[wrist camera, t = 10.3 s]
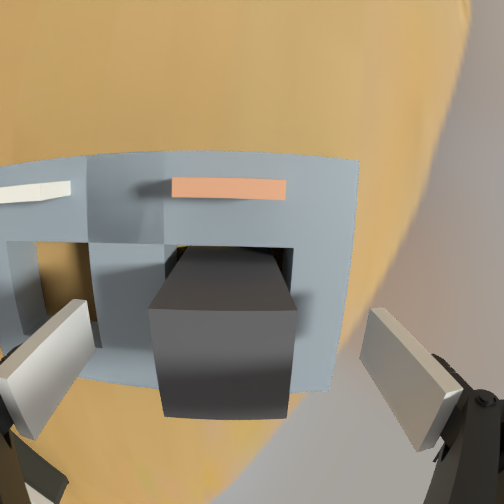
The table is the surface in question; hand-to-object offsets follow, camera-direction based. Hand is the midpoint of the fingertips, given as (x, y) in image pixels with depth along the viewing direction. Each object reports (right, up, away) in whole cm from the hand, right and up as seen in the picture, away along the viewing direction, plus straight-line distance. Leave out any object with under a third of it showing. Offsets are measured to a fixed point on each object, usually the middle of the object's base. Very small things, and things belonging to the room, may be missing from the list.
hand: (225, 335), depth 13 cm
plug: (0, +2, +7) cm, 7 cm away
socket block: (-6, +3, +6) cm, 9 cm away
